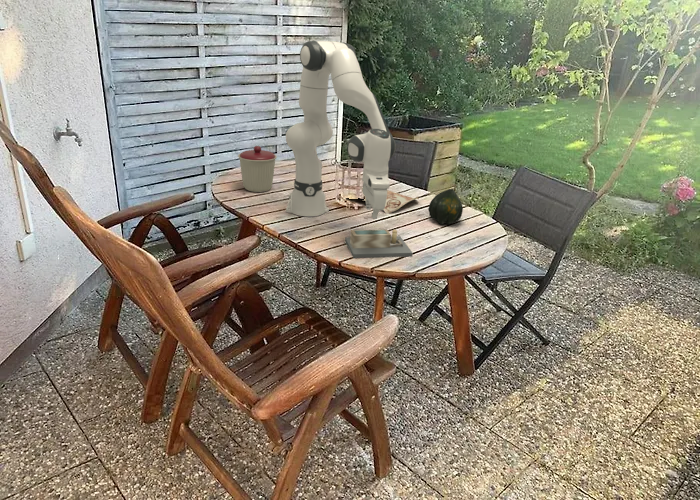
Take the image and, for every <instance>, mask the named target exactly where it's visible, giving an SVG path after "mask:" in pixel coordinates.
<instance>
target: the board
mask: <svg viewBox="0 0 700 500" xmlns="http://www.w3.org/2000/svg"><path fill="white" fill-rule="evenodd" d="M391 239H392V240H391V243H390V244H398V243H396V239H399V240H400V241H401V242H402V244H403V247H388V248H353V247H352V245H351V244H350V236H347V237H344V242H345V245H346V246H347V248H348V250H349V253H350V254H351V257H352V258H353V259H365V258H366V259H367V258H368V259H371V258H373V259H375V258H403V257H404V258H407V257H413V253H414V252H413V251H412V249H410V247H409V246H408V245H407V243H406V242H405V241H404V239H403V238H402V236H401V235H398V230H397V229H392V233H391Z"/></svg>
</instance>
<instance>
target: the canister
mask: <svg viewBox="0 0 700 500" xmlns="http://www.w3.org/2000/svg"><path fill="white" fill-rule="evenodd" d="M237 157H238V159H239V165H240V173H241V179H242V185H243V187H244V189H245V190H246V191H249V192H252V193H253V192H254V193H263V192H267V191H270V190H271V189H272V186H273V181H274V174H275V166H276V159H277V158H278V157H277V155H276V154H275V153H274V152H271V151H268V150H264V149H262V147H261V146H259V145H256V146H254V147H253V149H249V150H245V151H244V150H243V151H241V152H240V153H238V155H237Z"/></svg>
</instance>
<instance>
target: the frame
mask: <svg viewBox="0 0 700 500" xmlns="http://www.w3.org/2000/svg"><path fill="white" fill-rule="evenodd" d="M391 236H392V233H390V231H389V230H388V229H351V230H350V236H349V237H350V244H351V245H352V247H353V248H388V247H403V244H402V242H401V241H400V240H399V239H396V243H398V244H390V243H391V240H392V239H391Z"/></svg>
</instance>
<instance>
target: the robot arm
mask: <svg viewBox="0 0 700 500" xmlns="http://www.w3.org/2000/svg"><path fill="white" fill-rule="evenodd" d="M299 60H300V63H301V65H302V69H301V70H302V71H301V75H300V84H299V97H298V98H299V99H298V105H299V108H300V109H302V113H303V117H304V120H303V121H302V122H298V123H295V124H294V125H292V126H291V127H289V128H288V129H287V131H286V132H285V141H286V144H287V146H288V147H289V148H290V149H291V150H292V154H293V156H294V160H295V161H294V162H295V178H294V182H293V187H294V188H293V190H292V191H291V193H288V199H289V200H288V202H287V204H286V208H285V212H286V213H289V214H290V213H291V214H293V215H297V216H298V217H299V216H301V217H318V216H321V215H323V214H326V213H328V212H329V211H330V209H329V207H327V205H326V193H325V192H324V190H323V185H324V184H323V180H322V176H323V175H322V173H323V162H322V161H321V159H320V158H319V157H318V153H317V147H320V146H323V145H325V144H327V142H329V141H330V140H331V139H332V136H333V133H334V132H333V130H334V129H333V127H332V124H331V123H330V122H329V118H328V117H329V116H328V112H327V105H328V103H327V101H328V90H329V79H330V77H331V82H332V86H333V91H334V93H335V96H336V97H337V99H338V100H339V101H341V103H343V104H345V105H348V106H352V107H354V108H355V109H357V110H359V111H361V112H363V113H364V114H365V115H366V117H367V121H368V122H369V125H370V128H371V129H369V130H368V131H367V132H365V133H362V134H356V135H352V136H351V137H350V139H349V140H348V142H347V154H348V156H349V158H350V160H352V161H354V162H357V163H361V162H362V163H363V170H362V178H361V179H362V182H363V183H362V187H363V188H362V192H363V194H364V196H365V197H366V198H365V199H366V201H365V209H366V211H371V210H372V212H371V219H373V220H376V219H377V220H378V217H379V216H378V215H379V212H380V211H384V208H385V204H386V198H387V190H389V189H390V186H391V185H390V184H391V183H390V181H389V161H390V160H391V159H392V157H393V156H394V155H395V153H396V151H397V144H396V140H395V138H394V136H393V135H392V133H391V131H390V128H389V127H388V124H387V122H386V120H385V119H386V118H385V117H384V114H383V110H382V109H381V107H380V104H379V101H378V99H377V97H376V96H375V93H373V92H372V91H371V90H370V89H369V87H368V86H367V84H366V82H365V80H364V78H363V77H364V76H363V73H362V71H361V66H360V64H359V61H358V58H357V54H356V50H355V47H354V46H353V45H352V44H350V43H347V42H341V41H340V42H339V41H334V40H311V41H310V40H309V41H305V42H304V43H303V45H302V47H301V48H300V52H299Z"/></svg>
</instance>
